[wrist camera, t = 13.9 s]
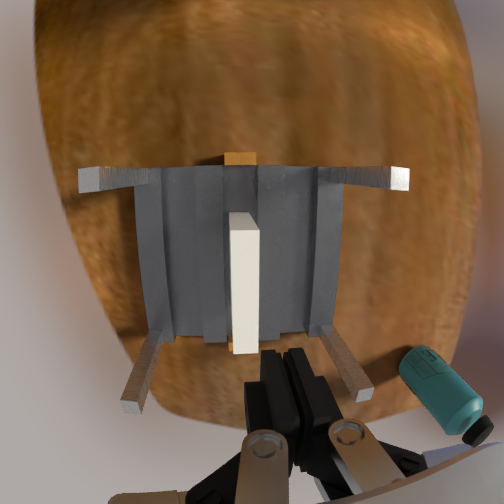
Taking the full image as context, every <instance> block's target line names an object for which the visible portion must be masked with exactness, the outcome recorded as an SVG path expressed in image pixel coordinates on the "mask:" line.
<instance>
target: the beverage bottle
mask: <svg viewBox="0 0 504 504" xmlns="http://www.w3.org/2000/svg"><path fill="white" fill-rule="evenodd" d="M430 348H431V347H430ZM430 348H429V347H427V346H424V345H420V346H417V347H415V348H413V349H412V350H410V351H409V352H408V353H407V354H406V355H405V356H404V357H403V359H402V361H401V363H400V365H399V374H400V376H401V378H402V379H403V381H405V382H406V383H405V382H404V383H405V384H406V385H407V386H408V387H409V389H410V390H411V391H412V392H413V393H414V395H416V396H417V397H418V399H419V400H420V401H421V403H422V404H423V405H424V406H425V407H426V408H427V409H428V411H429V412H430V413H431V414H432V416H433V417H434V418H435V419H436V421H437V422H438V423H439V424H440V426H441V427H442V428H443V430H444V431H445V433H446V434H447V435H458V434H462V433H463V432H465V431H466V430H467V431H466V432H465V434H464V435H463V437H462V441H463V442H464V443H465V444H468V445H470V446H472V447H473V448H475V447H477V446H478V445H479V444H481V443H482V442H483V441H484V440H485V439H486V438H487V437H488V436H489V434H490V433H491V432H492V430H493V428H494V425H493V423H492V422H491V421H490V419H489V417H488V416H487V415H485V416H483V417H481V418H479V416H480V414H481V411H482V405H483V400H482V398H481V397H480V396H478V395H477V394H476V393H475V392H474V391H473V390H472V389H471V388H470V387H469V386H468V385H467V384H466V383H465V382H464V380H463V379H462V378H461V377H460V376H459V375H458V374H457V373H455V372H454V371H453V370H452V369H451V368H450V367H449V366H448V365H449V364H448V365H447V364H446V362H445V361H444V360H442V358H441V357H440V356H439V355H438V354H437V353H436V352H435V351H434V350H433V351H434V352H435V353H436V354H435V353H434V352H433V351H432V350H431V349H430ZM478 418H479V419H478ZM477 419H478V420H477Z"/></svg>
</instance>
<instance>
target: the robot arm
mask: <svg viewBox="0 0 504 504" xmlns="http://www.w3.org/2000/svg"><path fill="white" fill-rule="evenodd" d="M244 401H245V415H246V425H247V436H246V437H245V438H244V440H243V443H242V449H241V452H239V453H238V454H237V455H235V456H234V457H233V458H232V459H230V460H229V461H228V462H227V463H226V464H224V465H223V466H222V467H220V468H219V469H217V470H216V471H215V472H214V473H212V474H211V475H209V476H208V477H207V478H205V479H204V480H202V481H201V482H200V483H198V484H197V485H195V486H194V487H192V488H191V489H190V490H189V491H184V492H177V490H173V491H163V492H148V493H122V494H117V495H115V496H113V497H111V499H110V500H109V501H108V504H289V477H290V475H291V471H292V467H293V462H294V465H295V466H300V470H301V472H307V474H309V475H311V476H313V477H314V481H315V484H316V486H317V488H318V490H319V492H320V493H321V495H322V497H323V499H324V501H325V502H323V503H318V504H504V442H493V443H488V444H484V445H481V446H477V447H475V448H473V447H472V446H470V445H468V444H457V445H453V446H449V447H445V448H441V449H435V450H431V451H425V452H423V453H422V454H421V455H419V454H417V453H415V452H412V451H409V450H405V449H402V448H399V447H396V446H393V445H390V444H387V443H384V442H381V441H378V440H377V439H376V438H375V437H374V435H373V434H372V433H371V432H370V430H369V429H368V428H367V427H366V425H365V424H364V423H362V422H360V421H358V420H355V419H344V418H343V416H342V414H341V412H340V410H339V407H338V405H337V403H336V401H335V399H334V397H333V394H332V392H331V390H330V388H329V386H328V384H327V381H326V379H325V378H324V376H316V377H315V376H314V373H313V371H312V368H311V366H310V364H309V361H308V359H307V357H306V354H305V352H304V350H303V348H289V349H288V352H284V354H283V360H282V356H281V353H276V351H275V349H274V350H261V365H260V381H258V382H244Z"/></svg>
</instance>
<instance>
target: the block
mask: <svg viewBox="0 0 504 504" xmlns="http://www.w3.org/2000/svg"><path fill="white" fill-rule="evenodd" d="M259 237H260V230H259V228H258V227H257V225H256V223H255V222H254V220H253V219H252V217H251V215H250V214H249V212H229V254H230V297H231V319H232V338H233V354H248V353H258V333H259Z"/></svg>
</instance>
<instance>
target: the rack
mask: <svg viewBox="0 0 504 504" xmlns="http://www.w3.org/2000/svg"><path fill="white" fill-rule="evenodd" d="M255 165H256V153H225V166H223V165H208V166H195V167H173V168H150V169H146V168H128V167H105V166H97V167H90V168H82V169H78V181H79V193H86V192H96V191H103V190H109V189H116V188H122V187H129V186H134V197H135V216H136V231H137V243H138V254H139V263H140V272H141V281H142V288H143V296H144V303H145V309H146V316H147V322H148V328H149V332H148V334H147V337H146V339H145V341H144V343H143V346H142V348H141V350H140V353H139V355H138V358H137V360H136V362H135V365H134V367H133V370H132V372H131V375H130V377H129V380H128V382H127V384H126V387H125V389H124V392H123V394H122V397H121V404H122V406H123V409H124V411H125V413H134V414H142V410H143V407H144V403H145V400H146V396H147V393H148V390H149V386H150V383H151V380H152V377H153V373H154V370H155V367H156V364H157V361H158V357H159V354H160V351H161V348H162V345H163V342H172V343H174V342H175V338H176V336H203V338H204V343H214V342H227V335H228V337H229V351H233V338H232V319H231V297H230V254H229V212H249V214H250V215H251V217H252V219H253V220H254V222H255V223H256V225H257V227H258V228H259V230H260V237H259V333H258V341H268V340H280V333H289V332H302V331H305V332H306V334H307V336H308V338H309V337H320V339H321V341H322V343H323V345H324V346H325V348H326V350H327V352H328V354H329V355H330V357H331V359H332V361H333V363H334V364H335V366H336V368H337V370H338V372H339V373H340V375H341V377H342V379H343V381H344V383H345V384H346V386H347V388H348V390H349V392H350V393H351V395H352V397H353V399H354V401H355V403H356V402H361V401H366V400H370V399H371V397H372V393H373V390H374V386H373V384H372V383H371V381H370V379H369V378H368V376H367V375H366V373H365V372H364V370H363V369H362V367H361V366H360V364H359V363H358V361H357V360H356V358H355V357H354V356H353V354H352V353H351V351H350V350H349V348H348V347H347V345H346V344H345V342H344V341H343V339H342V338H341V336H340V335H339V333H338V332H337V330H336V329H335V328H334V326H333V325H332V324H333V316H334V308H335V300H336V291H337V281H338V271H339V259H340V246H341V232H342V214H343V188H344V184H352V185H361V186H369V187H377V188H384V189H392V190H403V191H409V169H408V168H400V167H392V166H368V167H332V168H329V167H299V166H285V165H257V166H255Z"/></svg>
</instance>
